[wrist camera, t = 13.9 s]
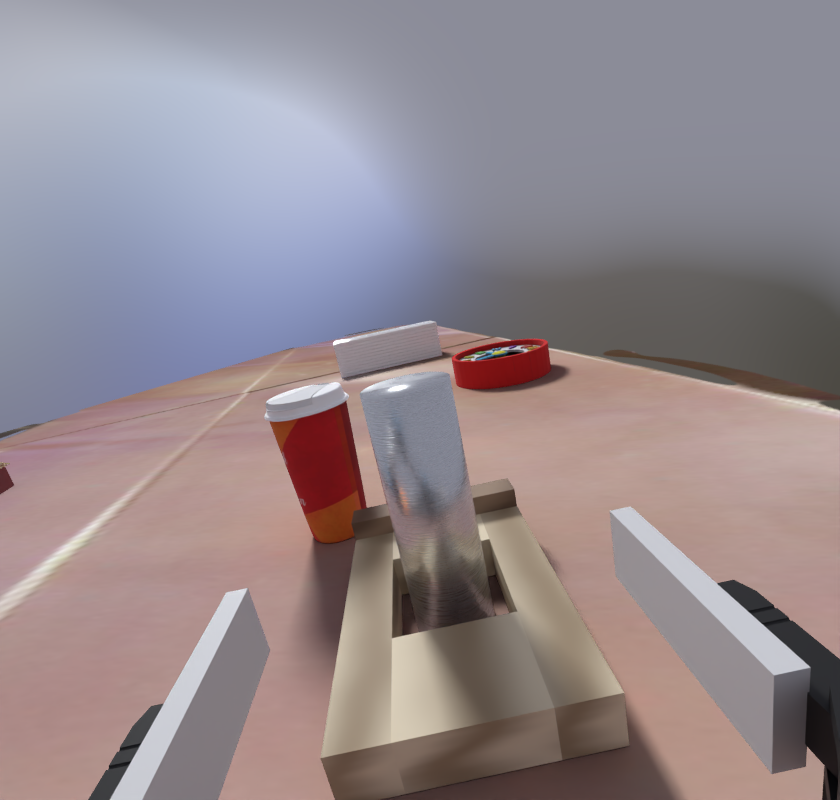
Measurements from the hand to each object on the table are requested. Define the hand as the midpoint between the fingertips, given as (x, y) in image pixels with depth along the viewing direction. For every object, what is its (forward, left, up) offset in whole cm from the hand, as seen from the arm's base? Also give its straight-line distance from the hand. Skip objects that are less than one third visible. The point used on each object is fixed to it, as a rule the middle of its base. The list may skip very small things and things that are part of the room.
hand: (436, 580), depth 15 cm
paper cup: (-9, +25, -11) cm, 29 cm away
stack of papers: (-5, +121, -11) cm, 121 cm away
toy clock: (+20, +74, -11) cm, 77 cm away
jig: (0, +10, -11) cm, 14 cm away
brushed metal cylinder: (0, +10, -11) cm, 14 cm away
